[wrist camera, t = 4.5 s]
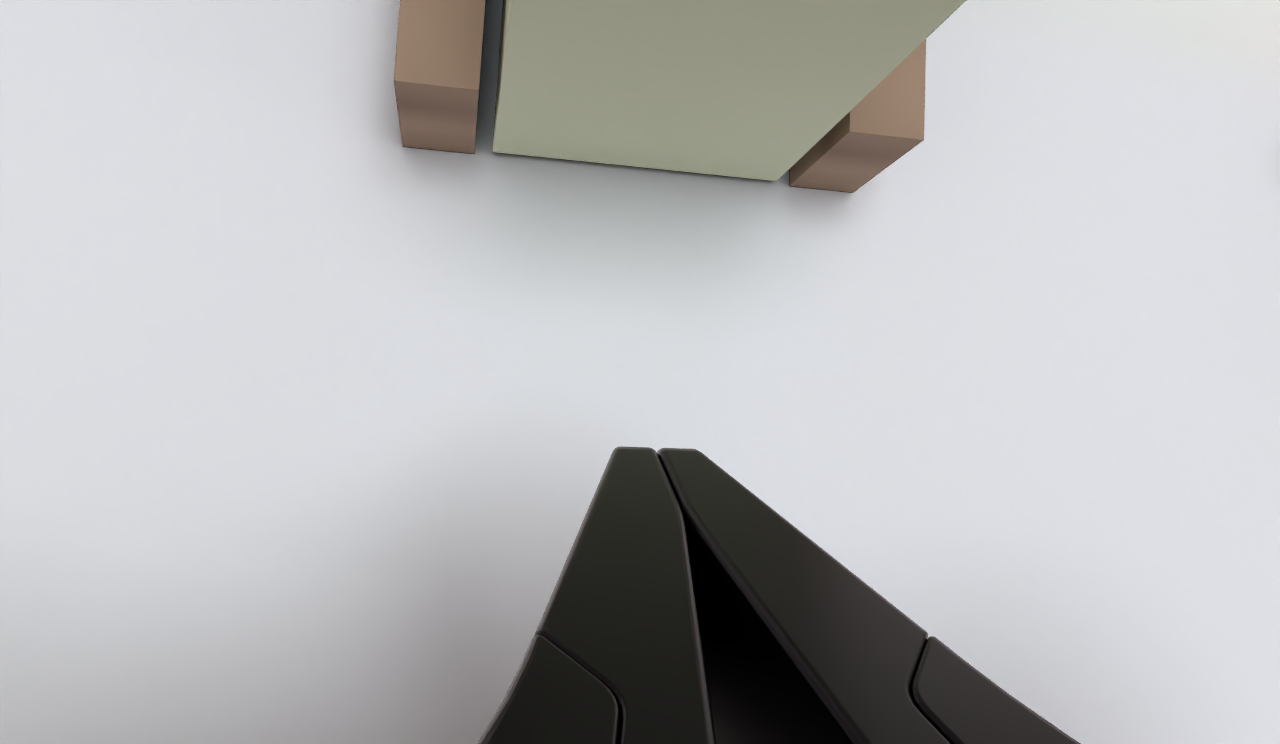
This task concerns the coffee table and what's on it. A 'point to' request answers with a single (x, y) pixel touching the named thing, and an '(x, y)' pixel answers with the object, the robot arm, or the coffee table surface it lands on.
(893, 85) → the walnut console
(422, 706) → the coffee table surface
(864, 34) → the pale green block
